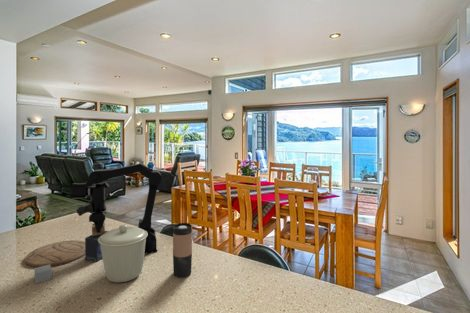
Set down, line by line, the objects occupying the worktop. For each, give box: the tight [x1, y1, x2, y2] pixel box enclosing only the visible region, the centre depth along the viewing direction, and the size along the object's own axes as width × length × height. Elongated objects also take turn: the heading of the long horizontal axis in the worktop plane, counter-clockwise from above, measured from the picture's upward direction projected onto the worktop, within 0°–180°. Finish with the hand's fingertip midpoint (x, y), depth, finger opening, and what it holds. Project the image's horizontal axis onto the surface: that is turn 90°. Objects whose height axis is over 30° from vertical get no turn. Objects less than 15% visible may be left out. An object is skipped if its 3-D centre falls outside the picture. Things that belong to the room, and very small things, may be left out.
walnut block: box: [91, 221, 106, 236], centre depth 118 cm, size 5×5×4 cm
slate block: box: [33, 264, 53, 284], centre depth 100 cm, size 5×5×4 cm
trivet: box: [24, 239, 85, 268], centre depth 121 cm, size 25×25×2 cm
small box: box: [84, 230, 109, 263], centre depth 119 cm, size 11×6×10 cm, turn 168°
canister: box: [98, 223, 148, 284], centre depth 103 cm, size 18×18×21 cm
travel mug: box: [172, 222, 193, 279], centre depth 105 cm, size 8×8×20 cm
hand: (98, 230), depth 119 cm, fingers closed on walnut block, 5 cm apart
